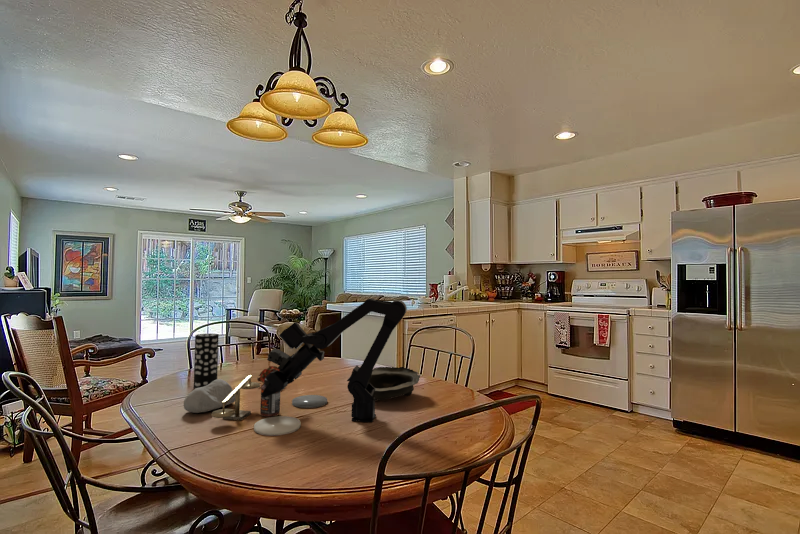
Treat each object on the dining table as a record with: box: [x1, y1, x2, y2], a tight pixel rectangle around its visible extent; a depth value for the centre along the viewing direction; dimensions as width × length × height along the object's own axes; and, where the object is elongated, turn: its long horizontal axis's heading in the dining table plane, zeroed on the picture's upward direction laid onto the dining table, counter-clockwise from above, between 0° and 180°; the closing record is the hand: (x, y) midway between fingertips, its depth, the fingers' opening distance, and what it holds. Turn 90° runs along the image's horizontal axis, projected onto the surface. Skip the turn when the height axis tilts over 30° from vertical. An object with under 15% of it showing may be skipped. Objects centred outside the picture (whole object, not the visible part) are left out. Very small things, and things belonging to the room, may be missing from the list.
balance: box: [211, 374, 261, 422], centre depth 129 cm, size 6×22×11 cm, turn 172°
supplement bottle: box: [259, 378, 281, 418], centre depth 132 cm, size 6×6×11 cm
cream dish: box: [253, 415, 302, 437], centre depth 121 cm, size 13×13×1 cm
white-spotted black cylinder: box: [193, 333, 219, 389], centre depth 163 cm, size 8×8×20 cm
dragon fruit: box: [256, 365, 279, 386], centre depth 166 cm, size 8×8×12 cm
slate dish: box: [291, 394, 328, 409], centre depth 145 cm, size 12×12×1 cm
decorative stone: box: [183, 378, 235, 414], centre depth 136 cm, size 17×10×10 cm
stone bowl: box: [369, 366, 421, 402], centre depth 154 cm, size 25×25×9 cm
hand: (266, 393), depth 132 cm, fingers closed on supplement bottle, 6 cm apart
